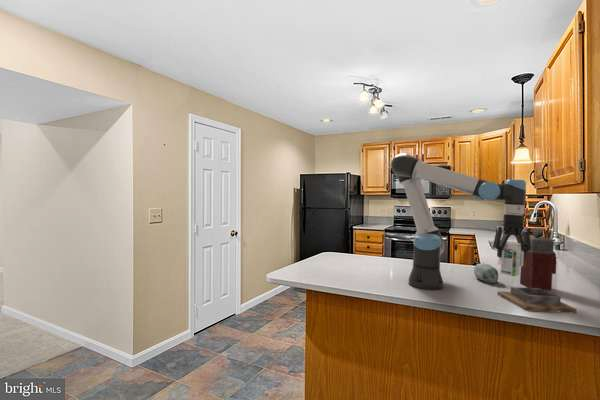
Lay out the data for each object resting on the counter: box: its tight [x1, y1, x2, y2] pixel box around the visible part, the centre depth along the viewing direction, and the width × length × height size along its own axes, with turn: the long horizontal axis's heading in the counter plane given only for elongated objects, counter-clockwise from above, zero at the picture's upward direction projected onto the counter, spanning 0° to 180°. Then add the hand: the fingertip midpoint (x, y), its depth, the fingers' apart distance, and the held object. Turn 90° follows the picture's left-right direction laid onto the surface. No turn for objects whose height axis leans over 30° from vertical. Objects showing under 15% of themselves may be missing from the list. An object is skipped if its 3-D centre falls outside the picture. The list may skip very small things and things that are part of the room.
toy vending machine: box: [519, 227, 557, 291], centre depth 146 cm, size 9×11×28 cm
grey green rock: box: [473, 263, 499, 284], centre depth 156 cm, size 14×10×10 cm
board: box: [497, 286, 577, 314], centre depth 124 cm, size 18×18×4 cm
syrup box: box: [499, 240, 521, 277], centre depth 138 cm, size 6×6×14 cm
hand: (510, 265), depth 139 cm, fingers closed on syrup box, 8 cm apart
